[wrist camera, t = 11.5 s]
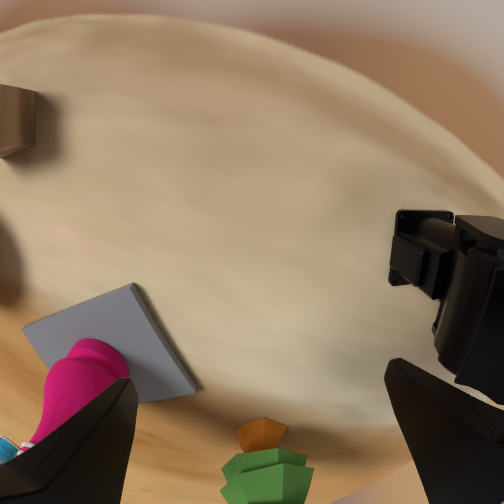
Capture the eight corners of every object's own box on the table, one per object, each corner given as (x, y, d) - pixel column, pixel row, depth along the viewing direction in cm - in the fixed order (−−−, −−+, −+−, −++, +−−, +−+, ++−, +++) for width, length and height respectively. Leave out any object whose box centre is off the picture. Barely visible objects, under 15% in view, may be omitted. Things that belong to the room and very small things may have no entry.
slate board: (133, 282, 21) (129, 287, 20) (197, 386, 25) (196, 393, 24) (26, 324, 22) (21, 329, 21) (85, 403, 26) (82, 408, 25)
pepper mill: (68, 370, 23) (-6, 518, 4) (70, 320, 21) (-43, 495, 2) (128, 398, 24) (81, 566, 5) (140, 353, 22) (73, 568, 3)
